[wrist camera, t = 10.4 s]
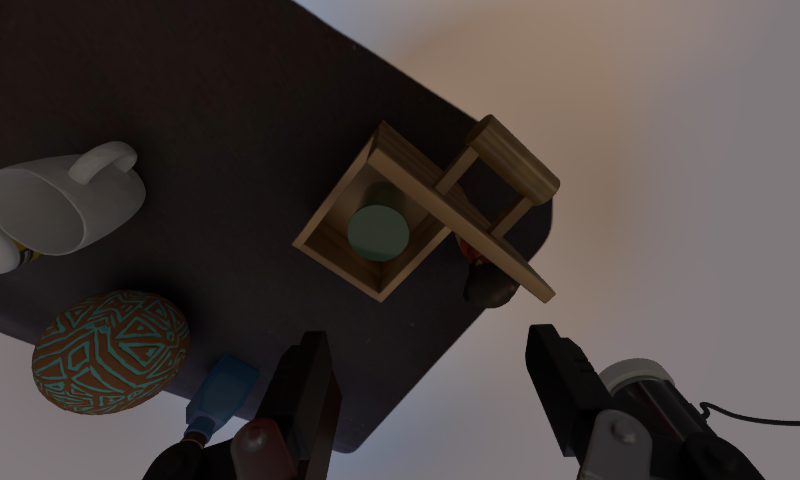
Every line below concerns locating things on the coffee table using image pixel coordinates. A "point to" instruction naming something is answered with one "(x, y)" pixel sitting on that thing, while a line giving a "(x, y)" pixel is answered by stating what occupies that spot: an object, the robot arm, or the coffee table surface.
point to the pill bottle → (14, 253)
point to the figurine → (485, 280)
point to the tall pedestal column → (323, 436)
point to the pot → (379, 223)
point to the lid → (455, 210)
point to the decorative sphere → (110, 352)
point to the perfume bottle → (218, 399)
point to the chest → (332, 216)
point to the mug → (70, 198)
